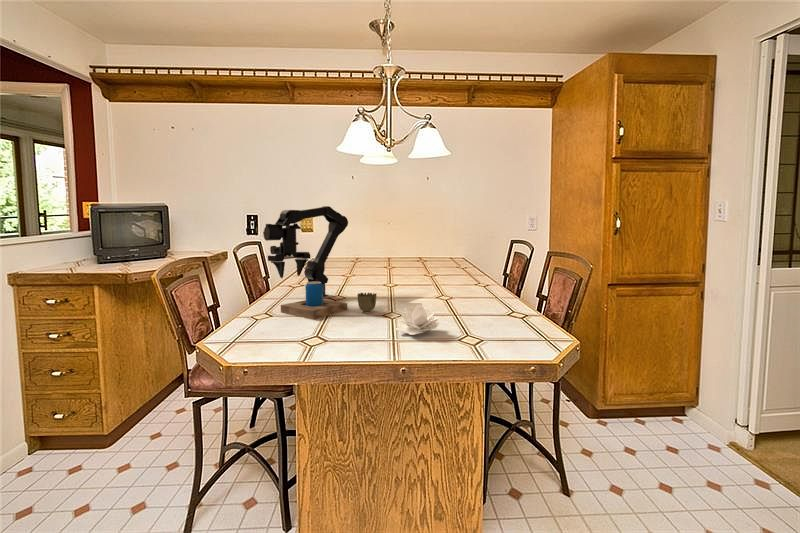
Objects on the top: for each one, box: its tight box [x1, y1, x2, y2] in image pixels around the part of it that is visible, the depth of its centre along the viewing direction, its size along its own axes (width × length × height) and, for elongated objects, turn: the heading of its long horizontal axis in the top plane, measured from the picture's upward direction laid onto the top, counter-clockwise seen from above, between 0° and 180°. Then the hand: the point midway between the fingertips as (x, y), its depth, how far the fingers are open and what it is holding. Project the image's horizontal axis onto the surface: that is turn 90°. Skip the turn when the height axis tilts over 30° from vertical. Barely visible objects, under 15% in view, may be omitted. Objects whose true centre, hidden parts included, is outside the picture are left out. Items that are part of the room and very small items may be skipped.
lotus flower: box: [394, 303, 440, 336], centre depth 144 cm, size 14×15×9 cm
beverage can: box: [305, 281, 324, 307], centre depth 171 cm, size 6×6×12 cm
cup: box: [356, 292, 377, 314], centre depth 169 cm, size 8×7×8 cm
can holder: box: [280, 299, 348, 321], centre depth 172 cm, size 18×18×4 cm
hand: (290, 276), depth 188 cm, fingers open, 9 cm apart
